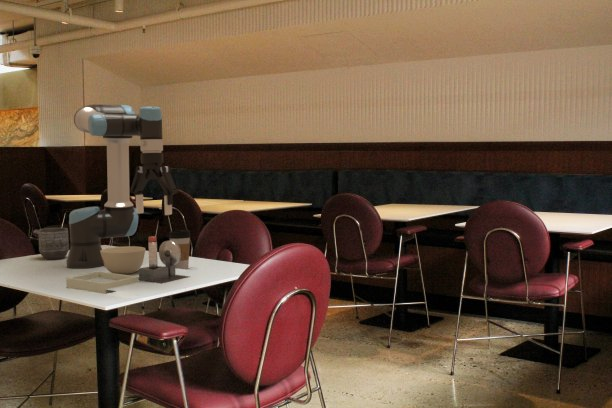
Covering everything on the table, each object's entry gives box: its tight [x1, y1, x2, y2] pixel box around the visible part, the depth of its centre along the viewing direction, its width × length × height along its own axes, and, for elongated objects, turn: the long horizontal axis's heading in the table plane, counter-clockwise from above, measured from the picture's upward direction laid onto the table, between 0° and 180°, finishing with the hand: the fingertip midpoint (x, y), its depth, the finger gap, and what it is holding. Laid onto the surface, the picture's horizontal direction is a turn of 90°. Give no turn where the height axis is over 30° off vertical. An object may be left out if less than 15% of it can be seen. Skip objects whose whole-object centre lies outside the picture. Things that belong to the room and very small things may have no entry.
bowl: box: [100, 245, 146, 275], centre depth 250 cm, size 16×16×10 cm
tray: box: [65, 271, 139, 295], centre depth 231 cm, size 20×14×3 cm
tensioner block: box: [137, 239, 190, 285], centre depth 238 cm, size 16×14×14 cm
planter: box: [37, 227, 70, 261], centre depth 296 cm, size 12×12×13 cm
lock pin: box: [147, 235, 159, 269], centre depth 235 cm, size 3×3×15 cm
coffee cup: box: [168, 229, 192, 270], centre depth 264 cm, size 8×8×15 cm
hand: (154, 214), depth 235 cm, fingers open, 13 cm apart
